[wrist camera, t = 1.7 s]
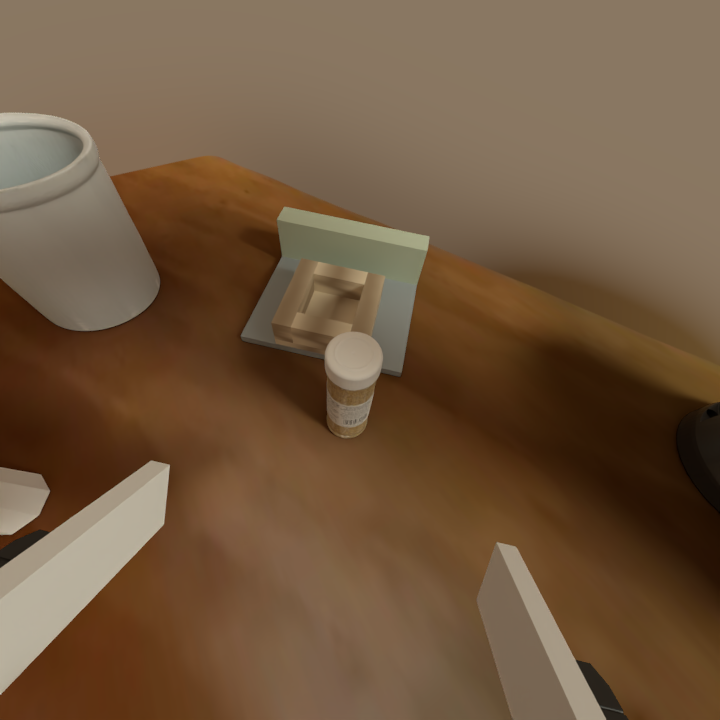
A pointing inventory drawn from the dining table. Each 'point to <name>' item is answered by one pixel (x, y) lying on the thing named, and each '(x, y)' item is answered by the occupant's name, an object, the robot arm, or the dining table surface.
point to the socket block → (326, 305)
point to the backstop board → (382, 328)
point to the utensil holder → (67, 228)
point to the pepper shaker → (20, 498)
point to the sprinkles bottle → (351, 381)
